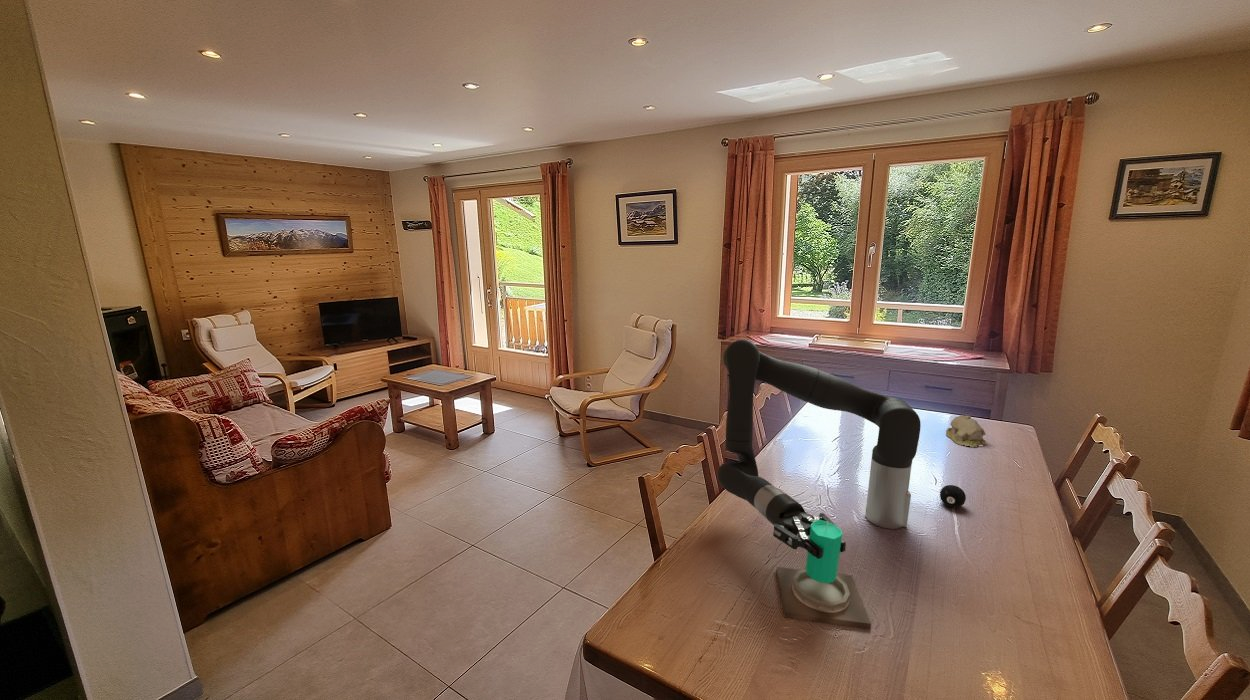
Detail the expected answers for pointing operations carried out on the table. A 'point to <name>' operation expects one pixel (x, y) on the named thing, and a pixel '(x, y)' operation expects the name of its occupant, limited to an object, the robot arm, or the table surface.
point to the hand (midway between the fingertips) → (832, 551)
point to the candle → (824, 551)
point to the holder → (821, 599)
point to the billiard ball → (952, 496)
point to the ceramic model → (966, 431)
